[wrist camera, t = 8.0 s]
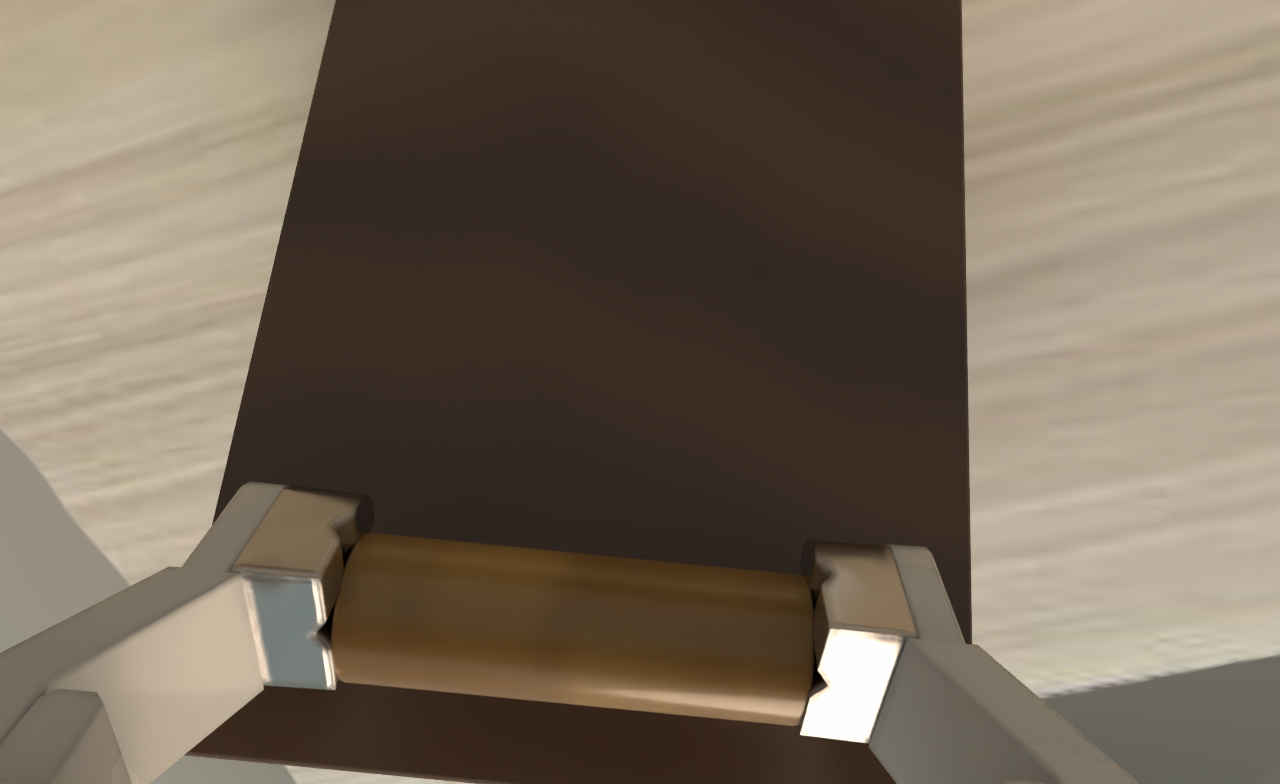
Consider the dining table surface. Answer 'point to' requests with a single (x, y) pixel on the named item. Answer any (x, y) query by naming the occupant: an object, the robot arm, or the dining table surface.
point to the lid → (610, 375)
